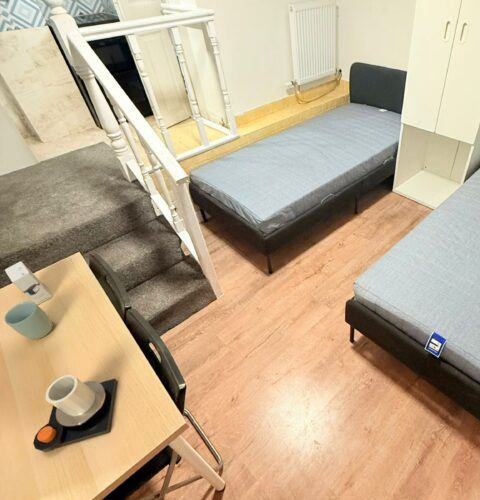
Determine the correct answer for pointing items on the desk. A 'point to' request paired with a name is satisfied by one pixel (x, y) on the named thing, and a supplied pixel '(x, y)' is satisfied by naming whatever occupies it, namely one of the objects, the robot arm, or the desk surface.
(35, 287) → the ink box
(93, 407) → the scale pan
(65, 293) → the desk surface
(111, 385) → the scale
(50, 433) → the tare button
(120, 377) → the desk surface
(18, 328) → the cup
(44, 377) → the desk surface
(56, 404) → the white cup
